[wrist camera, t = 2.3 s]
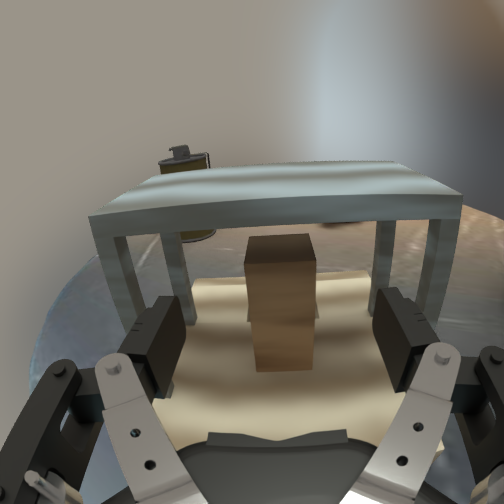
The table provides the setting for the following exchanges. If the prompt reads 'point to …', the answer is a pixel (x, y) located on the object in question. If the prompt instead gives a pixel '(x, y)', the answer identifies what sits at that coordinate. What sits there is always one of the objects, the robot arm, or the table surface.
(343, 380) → the tunnel deck
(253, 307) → the walnut block
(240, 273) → the table surface
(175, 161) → the canister
